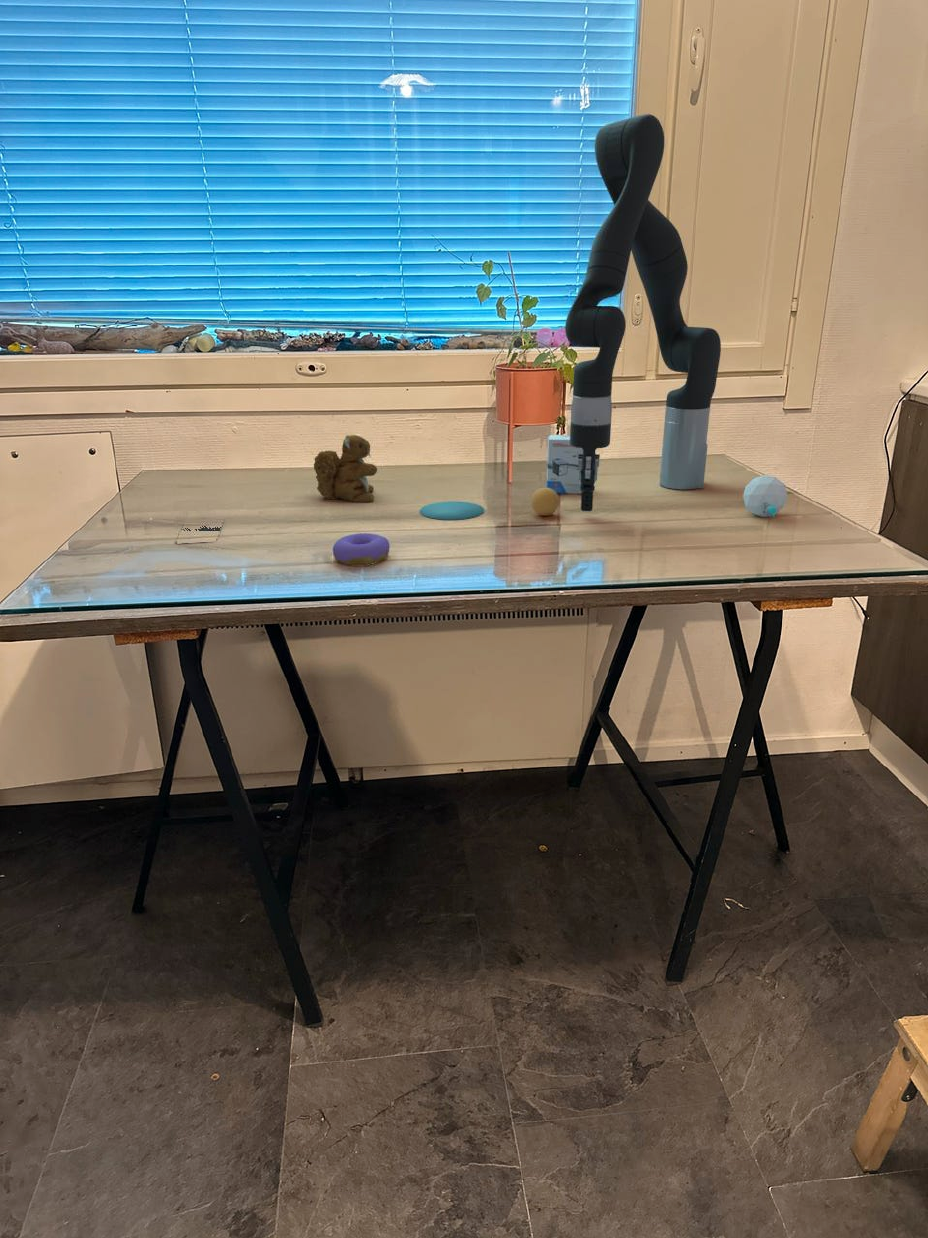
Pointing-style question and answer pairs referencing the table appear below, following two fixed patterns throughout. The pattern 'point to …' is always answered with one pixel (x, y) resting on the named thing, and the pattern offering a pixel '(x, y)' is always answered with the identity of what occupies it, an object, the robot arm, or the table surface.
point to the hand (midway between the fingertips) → (586, 509)
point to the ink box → (563, 465)
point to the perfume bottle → (765, 496)
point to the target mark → (452, 510)
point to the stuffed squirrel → (346, 471)
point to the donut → (361, 549)
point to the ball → (545, 501)
